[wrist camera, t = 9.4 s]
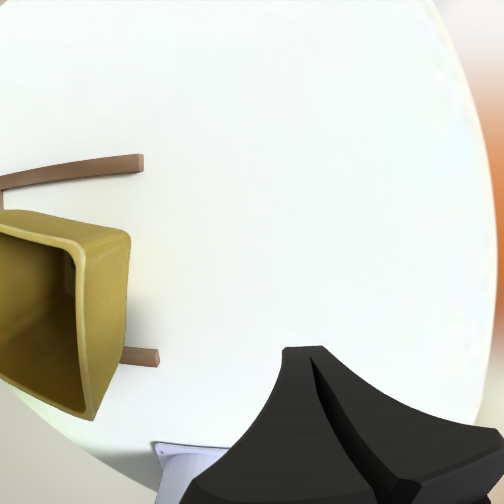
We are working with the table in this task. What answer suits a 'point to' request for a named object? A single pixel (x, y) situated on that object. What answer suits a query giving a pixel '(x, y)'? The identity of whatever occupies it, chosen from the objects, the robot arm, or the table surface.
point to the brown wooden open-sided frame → (82, 170)
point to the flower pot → (61, 308)
